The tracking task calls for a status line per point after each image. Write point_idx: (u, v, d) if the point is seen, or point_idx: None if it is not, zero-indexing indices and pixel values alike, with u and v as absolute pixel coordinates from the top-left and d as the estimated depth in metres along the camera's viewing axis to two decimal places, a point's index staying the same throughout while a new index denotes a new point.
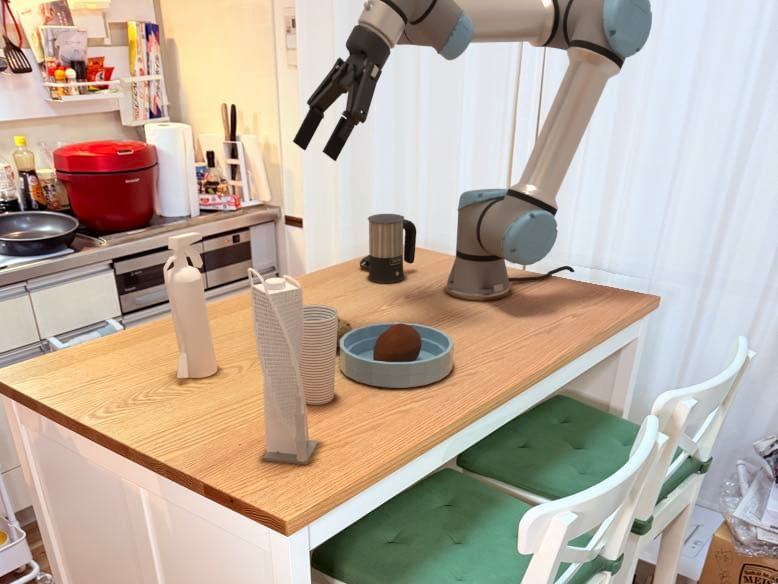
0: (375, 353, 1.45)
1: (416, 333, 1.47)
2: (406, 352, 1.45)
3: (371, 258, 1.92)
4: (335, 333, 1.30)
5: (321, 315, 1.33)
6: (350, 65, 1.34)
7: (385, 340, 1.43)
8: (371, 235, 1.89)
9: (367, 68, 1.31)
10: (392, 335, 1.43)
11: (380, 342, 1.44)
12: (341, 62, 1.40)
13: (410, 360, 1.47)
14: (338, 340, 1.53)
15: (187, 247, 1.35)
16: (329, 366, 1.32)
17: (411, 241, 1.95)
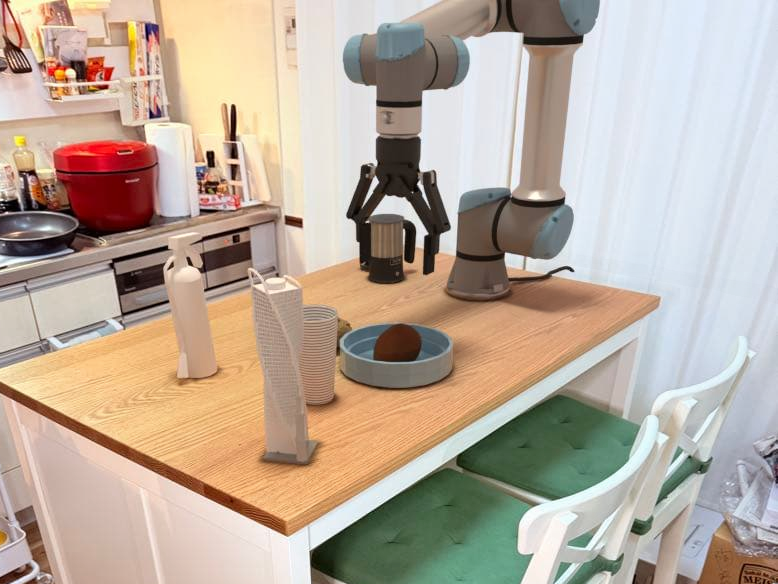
0: (375, 353, 1.45)
1: (416, 333, 1.47)
2: (406, 352, 1.45)
3: (371, 258, 1.92)
4: (335, 333, 1.30)
5: (321, 315, 1.33)
6: (397, 180, 1.28)
7: (385, 340, 1.43)
8: (371, 235, 1.89)
9: (425, 180, 1.26)
10: (392, 335, 1.43)
11: (380, 342, 1.44)
12: (367, 168, 1.32)
13: (410, 360, 1.47)
14: (338, 340, 1.53)
15: (187, 247, 1.35)
16: (329, 366, 1.32)
17: (411, 241, 1.95)
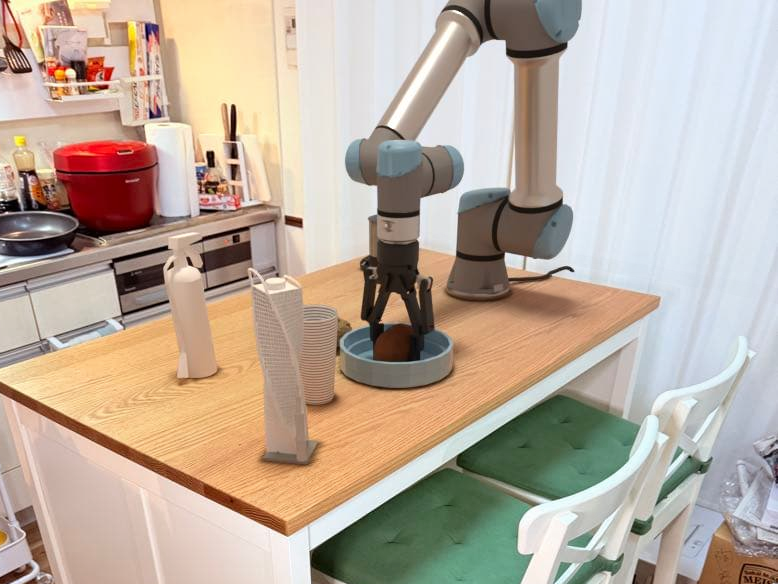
0: (375, 353, 1.45)
1: None
2: (406, 352, 1.45)
3: (371, 258, 1.92)
4: (335, 333, 1.30)
5: (321, 315, 1.33)
6: (397, 279, 1.37)
7: (386, 340, 1.43)
8: (371, 235, 1.89)
9: (422, 286, 1.36)
10: (392, 335, 1.43)
11: (380, 342, 1.44)
12: (369, 271, 1.41)
13: None
14: (338, 340, 1.53)
15: (187, 247, 1.35)
16: (329, 366, 1.32)
17: None
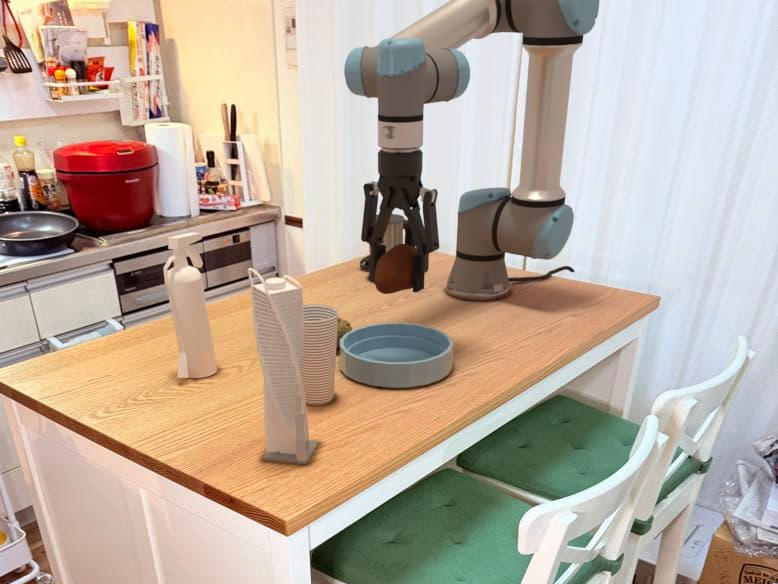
0: (377, 275, 1.37)
1: None
2: (409, 274, 1.37)
3: None
4: (335, 333, 1.30)
5: (321, 315, 1.33)
6: (400, 192, 1.30)
7: (387, 260, 1.36)
8: None
9: (426, 199, 1.29)
10: (394, 255, 1.36)
11: (381, 263, 1.36)
12: (370, 186, 1.34)
13: None
14: (338, 340, 1.53)
15: (187, 247, 1.35)
16: (329, 366, 1.32)
17: (411, 241, 1.95)
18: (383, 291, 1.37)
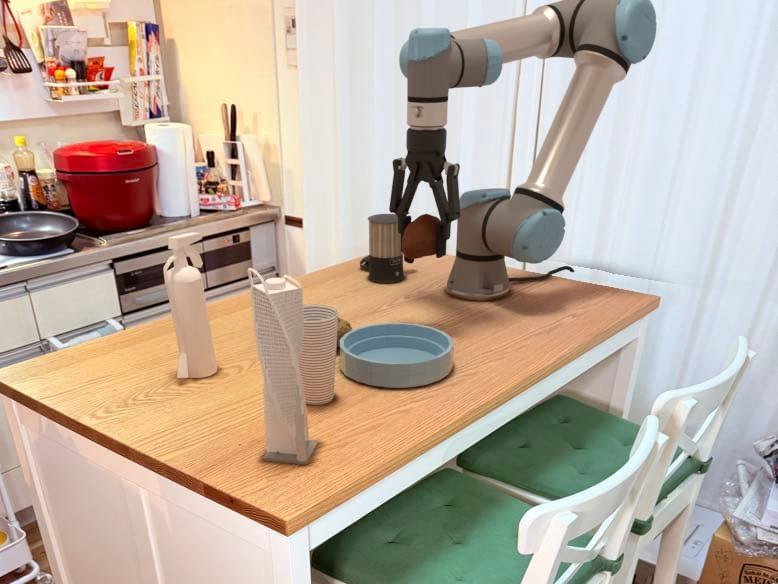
0: (404, 242, 1.52)
1: None
2: (433, 241, 1.52)
3: (371, 258, 1.92)
4: (335, 333, 1.30)
5: (321, 315, 1.33)
6: (426, 166, 1.45)
7: (414, 228, 1.51)
8: (371, 235, 1.89)
9: (450, 172, 1.44)
10: (420, 224, 1.51)
11: (408, 231, 1.52)
12: (398, 161, 1.49)
13: None
14: (338, 340, 1.53)
15: (187, 247, 1.35)
16: (329, 366, 1.32)
17: None
18: (409, 256, 1.53)
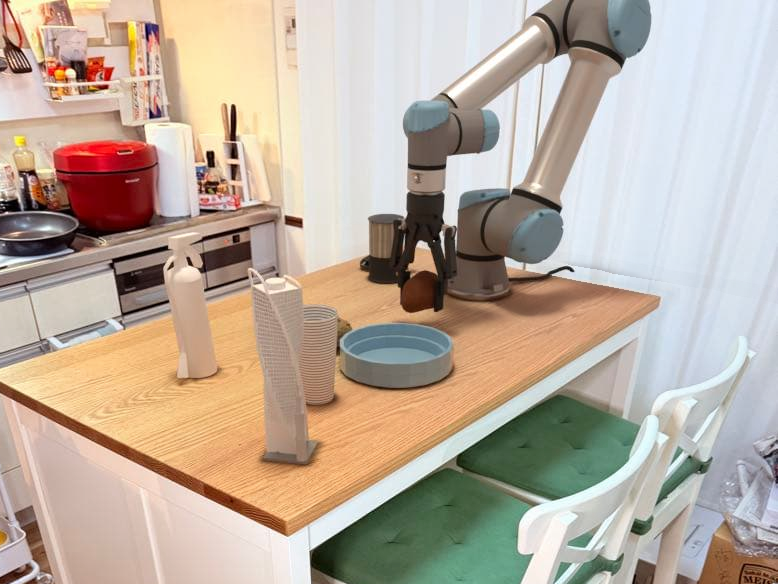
0: (403, 297, 1.60)
1: None
2: (431, 296, 1.60)
3: (371, 258, 1.92)
4: (335, 333, 1.30)
5: (321, 315, 1.33)
6: (425, 228, 1.53)
7: (413, 284, 1.58)
8: (371, 235, 1.89)
9: (447, 234, 1.51)
10: (418, 280, 1.58)
11: (407, 287, 1.59)
12: (398, 221, 1.57)
13: None
14: (338, 340, 1.53)
15: (187, 247, 1.35)
16: (329, 366, 1.32)
17: None
18: (408, 310, 1.60)
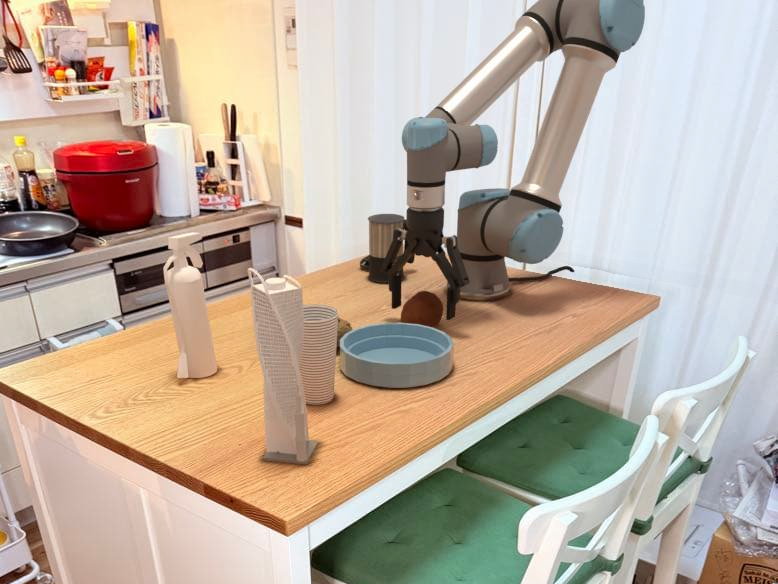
0: (402, 317, 1.62)
1: (439, 300, 1.64)
2: (430, 316, 1.62)
3: (371, 258, 1.92)
4: (335, 333, 1.30)
5: (321, 315, 1.33)
6: (425, 243, 1.55)
7: (412, 305, 1.61)
8: (371, 235, 1.89)
9: (448, 244, 1.53)
10: (418, 301, 1.61)
11: (407, 307, 1.62)
12: (399, 232, 1.58)
13: (433, 324, 1.64)
14: (338, 340, 1.53)
15: (187, 247, 1.35)
16: (329, 366, 1.32)
17: None
18: None
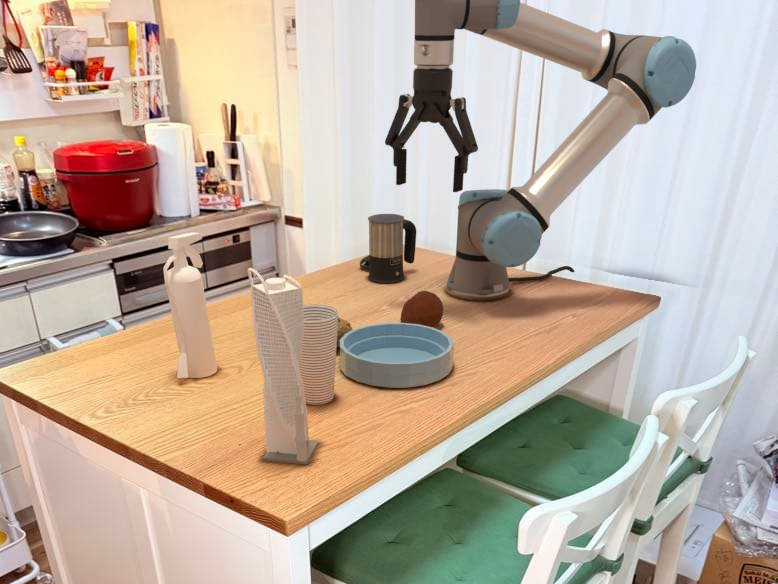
0: (402, 317, 1.62)
1: (439, 300, 1.64)
2: (430, 316, 1.62)
3: (371, 258, 1.92)
4: (335, 333, 1.30)
5: (321, 315, 1.33)
6: (432, 106, 1.48)
7: (412, 305, 1.61)
8: (371, 235, 1.89)
9: (457, 106, 1.46)
10: (418, 301, 1.61)
11: (407, 307, 1.62)
12: (405, 98, 1.52)
13: (433, 324, 1.64)
14: (338, 340, 1.53)
15: (187, 247, 1.35)
16: (329, 366, 1.32)
17: (411, 241, 1.95)
18: None
